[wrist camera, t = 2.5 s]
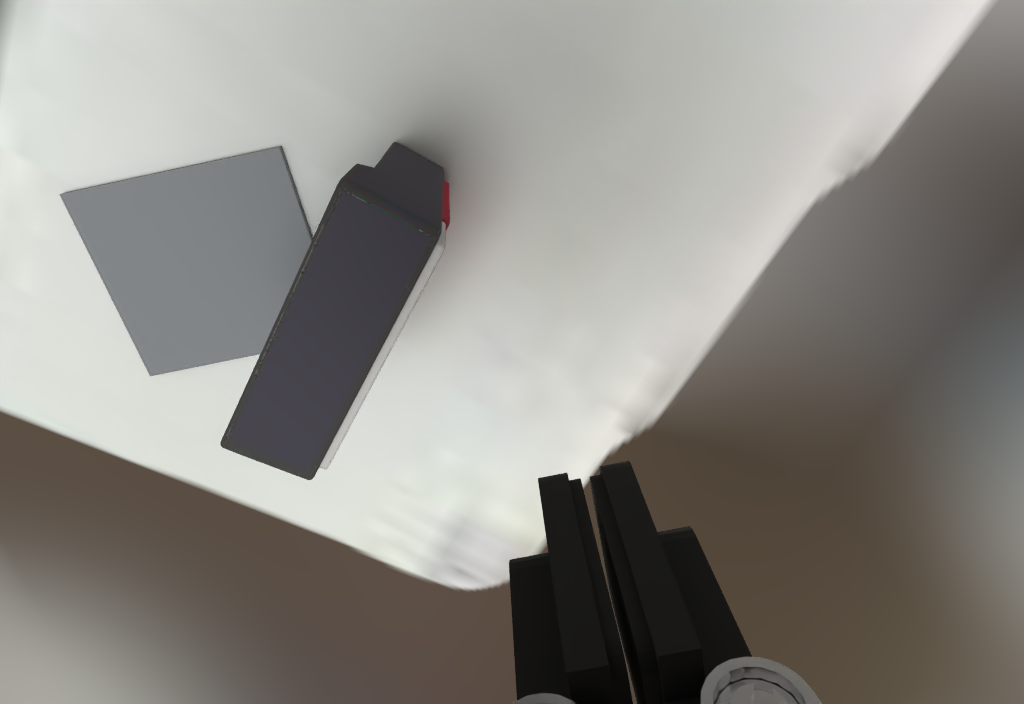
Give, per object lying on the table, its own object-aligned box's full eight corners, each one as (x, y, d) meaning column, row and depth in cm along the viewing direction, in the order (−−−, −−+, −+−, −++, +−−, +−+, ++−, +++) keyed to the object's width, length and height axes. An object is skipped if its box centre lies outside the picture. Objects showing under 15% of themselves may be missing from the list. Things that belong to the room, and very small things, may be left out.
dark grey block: (371, 340, 37) (328, 494, 24) (302, 308, 36) (215, 451, 23) (457, 174, 34) (464, 243, 20) (384, 133, 33) (339, 177, 19)
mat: (281, 146, 33) (279, 147, 33) (345, 334, 37) (343, 337, 37) (64, 193, 33) (59, 194, 33) (153, 373, 38) (150, 376, 38)
